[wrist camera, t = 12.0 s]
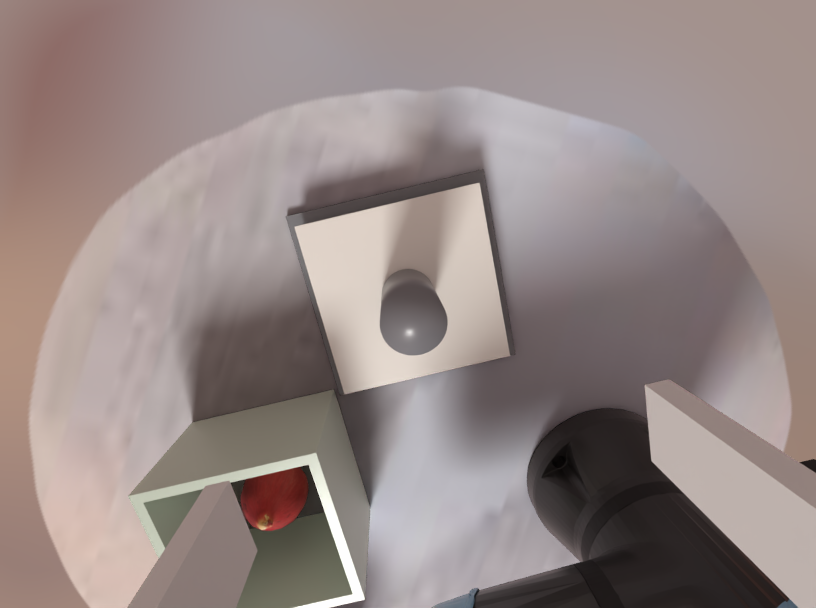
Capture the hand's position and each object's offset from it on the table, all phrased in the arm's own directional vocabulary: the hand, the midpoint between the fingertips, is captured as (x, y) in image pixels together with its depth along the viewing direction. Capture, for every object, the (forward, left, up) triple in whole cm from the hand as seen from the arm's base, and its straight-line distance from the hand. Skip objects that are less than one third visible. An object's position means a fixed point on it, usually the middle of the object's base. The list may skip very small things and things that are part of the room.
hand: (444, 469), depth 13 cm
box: (+16, +15, -25) cm, 33 cm away
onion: (+16, +15, -25) cm, 33 cm away
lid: (0, 0, -25) cm, 25 cm away
